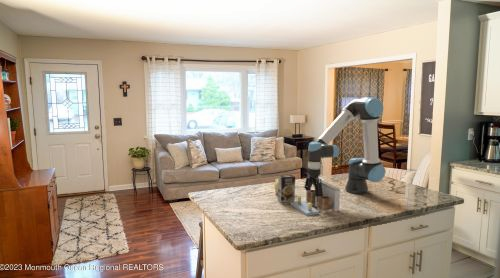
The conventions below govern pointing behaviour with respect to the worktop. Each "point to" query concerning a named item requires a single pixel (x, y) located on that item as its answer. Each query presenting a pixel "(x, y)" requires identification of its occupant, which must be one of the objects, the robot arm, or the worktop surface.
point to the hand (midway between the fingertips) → (312, 203)
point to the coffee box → (286, 188)
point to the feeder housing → (331, 194)
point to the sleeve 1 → (311, 197)
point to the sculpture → (276, 185)
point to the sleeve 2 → (324, 204)
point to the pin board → (304, 207)
